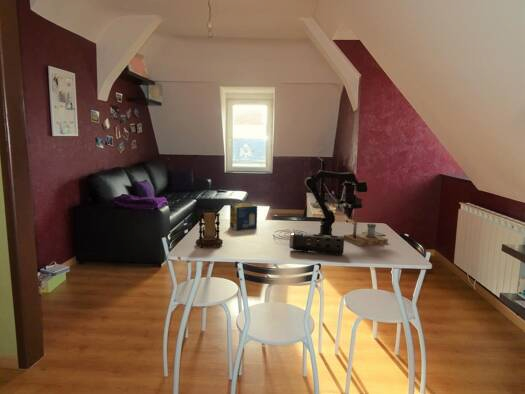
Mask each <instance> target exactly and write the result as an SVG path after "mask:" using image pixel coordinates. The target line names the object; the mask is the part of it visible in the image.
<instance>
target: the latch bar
mask: <svg viewBox="0 0 525 394" xmlns="http://www.w3.org/2000/svg"><path fill="white" fill-rule="evenodd" d="M343 218H344V219H345V220H346V221H347V222H349V223H350V224H352V225H353V233H352V234H353V238H356V234H357V227H358V226H357V225H358V222H356V221H355V220H353V219H352V218H351V217H350V218H349V217H348V216H347V215H344V217H343Z"/></svg>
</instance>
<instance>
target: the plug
mask: <svg viewBox="0 0 525 394" xmlns="http://www.w3.org/2000/svg"><path fill="white" fill-rule="evenodd" d="M366 225H367V231H366V232H367V237H368V238H374V236H375V231H376V227H377V224H376V223H367V224H366Z"/></svg>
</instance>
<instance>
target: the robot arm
mask: <svg viewBox="0 0 525 394" xmlns="http://www.w3.org/2000/svg"><path fill="white" fill-rule="evenodd" d="M322 178H326V179H335V180H342V181H344V182H343V183H342V184H341V186H343V187H345V188H344V194H343V196H344V199H338V200H337V201H336V202H337V203H336V204H337V205H339V206H340V205H342V207H343V209H344V211H345V213H346V216H348V217H349V218H351V215H352V213H353V211H354V210H355V209H356V210H357V209H362V208H363V204H362V202H363V199H362V198H361V197H358V196H357V195H356V194H355V192H356V193H358V194H359V193H360V194H361V193H363V194H365V193H367V192H368V184H367V182H366V181H358V180H357V176H356V174H355V173H353V172H349V171H347V172H335V171H327V170H325V171H324V170H322V169H321V170H318V171H317V172H315V173H313V174H311V176H308V177H306V178H305V179H304V185H305V186H306V187H307V189H309V190H310V192H311V193H312V196H313V197H314V199H315V201H316V203H317V205H318V206H319V208H320V210H321V214H322V219H321V220H320V228H319V233H318V235H331V236H333V234H332V233H333V224H334V223H335V221H336V215H335V214H334V212H333V210H331V209H329V208H328V207H327V205H326V202H325V201H324V199H323V197H322V195H321V194H320V192H319V189H318V186H317V183H318V182H319V181H320V180H321V179H322Z"/></svg>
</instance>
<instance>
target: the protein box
mask: <svg viewBox="0 0 525 394" xmlns="http://www.w3.org/2000/svg"><path fill="white" fill-rule="evenodd" d="M229 205H230V206H229V207H230V208H229V228H231V229H232V230H234V231H244V230H245V231H246V230H256V229H258V227H257V226H258V205H256V204H253V203H251V202H248V203H237V204H235V203H234V204H229Z"/></svg>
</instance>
